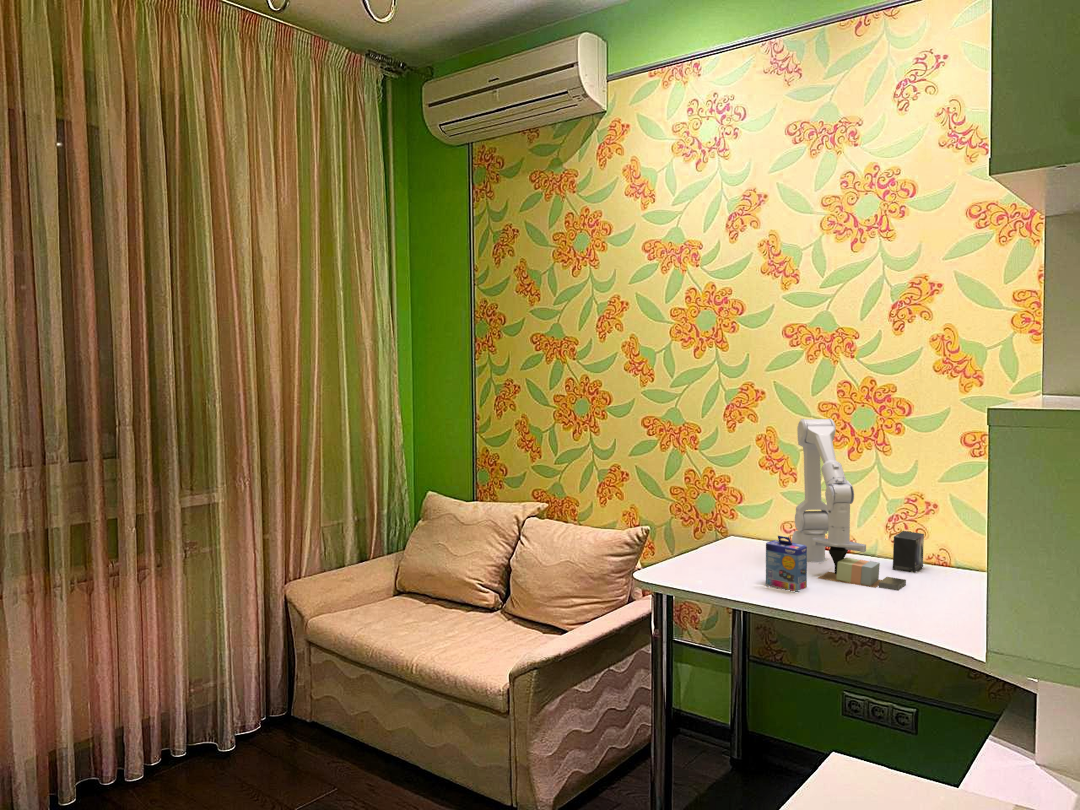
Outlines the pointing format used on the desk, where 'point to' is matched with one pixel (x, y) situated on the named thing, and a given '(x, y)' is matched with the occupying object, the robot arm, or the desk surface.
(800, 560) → the ink cartridge box
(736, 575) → the desk surface
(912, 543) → the small box
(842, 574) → the sage book
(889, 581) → the steel bookend
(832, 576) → the walnut board
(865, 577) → the grey-blue block
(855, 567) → the terracotta book
